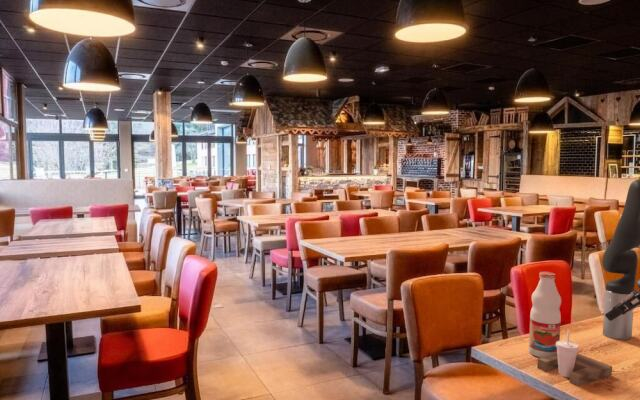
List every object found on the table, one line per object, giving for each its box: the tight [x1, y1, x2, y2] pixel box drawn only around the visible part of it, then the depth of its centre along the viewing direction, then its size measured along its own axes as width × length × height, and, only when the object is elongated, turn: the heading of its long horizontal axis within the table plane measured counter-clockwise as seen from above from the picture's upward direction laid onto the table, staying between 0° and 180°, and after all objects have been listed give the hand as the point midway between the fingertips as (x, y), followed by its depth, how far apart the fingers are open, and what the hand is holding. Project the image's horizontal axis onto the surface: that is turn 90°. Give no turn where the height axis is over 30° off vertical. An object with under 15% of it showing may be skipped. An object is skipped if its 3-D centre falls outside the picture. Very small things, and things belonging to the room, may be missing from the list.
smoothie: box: [556, 330, 580, 378], centre depth 150 cm, size 6×6×14 cm
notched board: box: [536, 352, 613, 387], centre depth 153 cm, size 16×14×3 cm
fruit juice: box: [528, 271, 562, 358], centre depth 166 cm, size 9×9×28 cm
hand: (611, 314), depth 142 cm, fingers open, 8 cm apart
